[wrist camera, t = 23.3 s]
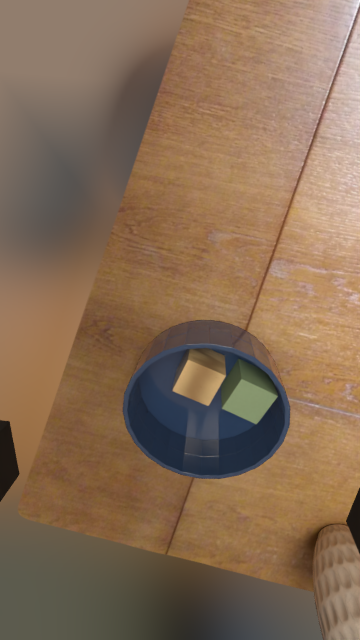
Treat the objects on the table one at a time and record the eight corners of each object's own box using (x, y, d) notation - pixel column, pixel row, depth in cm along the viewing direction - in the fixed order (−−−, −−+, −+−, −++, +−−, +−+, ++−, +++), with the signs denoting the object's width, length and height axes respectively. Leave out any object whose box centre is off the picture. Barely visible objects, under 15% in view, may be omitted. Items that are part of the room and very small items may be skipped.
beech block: (176, 369, 43) (171, 391, 38) (190, 340, 41) (187, 359, 36) (209, 383, 43) (208, 406, 38) (224, 355, 41) (226, 375, 36)
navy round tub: (117, 408, 47) (102, 442, 41) (168, 295, 39) (159, 314, 33) (235, 458, 48) (239, 498, 42) (307, 358, 40) (325, 389, 34)
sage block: (221, 408, 38) (256, 424, 39) (241, 378, 36) (278, 396, 37) (220, 385, 43) (252, 400, 43) (238, 358, 41) (271, 373, 41)
